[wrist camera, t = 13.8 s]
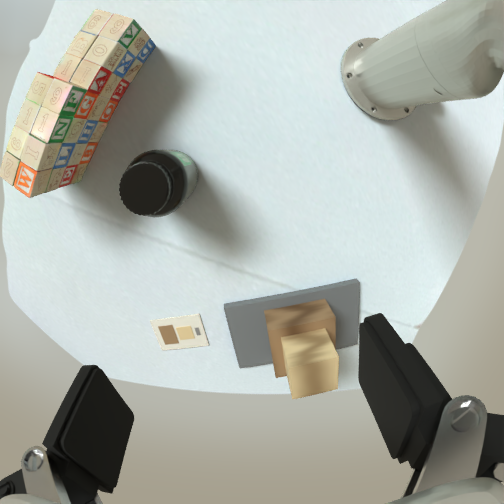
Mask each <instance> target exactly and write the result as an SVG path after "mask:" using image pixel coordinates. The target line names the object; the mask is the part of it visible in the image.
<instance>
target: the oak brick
mask: <svg viewBox="0 0 504 504" xmlns="http://www.w3.org/2000/svg"><path fill="white" fill-rule="evenodd" d="M281 341H282V348H283V355H284V362H285V369H286V373H287V378H288V382H289V386H290V391H291V395H292V399H297V398H302V397H306V396H310V395H315V394H319V393H323V392H328V391H331V390H335V389H338V368H339V356H338V354H337V352H336V350H335V348H334V345H333V343H332V341H331V339H330V337H329V335H328V333H327V331H326V329H325V328H323V329H319V330H315V331H310V332H305V333H301V334H296V335H291V336H286V337H281Z"/></svg>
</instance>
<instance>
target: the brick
mask: <svg viewBox="0 0 504 504" xmlns="http://www.w3.org/2000/svg"><path fill="white" fill-rule="evenodd" d="M264 313H265V319H266V325H267V331H268V336H269V342H270V348H271V354H272V360H273V365H274V370H275V376H276V378H278V377H283V376H287V373H286V369H285V362H284V355H283V348H282V341H281V337H286V336H291V335H296V334H301V333H305V332H310V331H315V330H319V329H323V328H325V329H326V331H327V333H328V335H329V337H330V339H331V341H332V343H333V345H334V348H335V350H336V318H335V315H334V313H333V312H332V310H331V308H330V307H329V305H328V303H327V301H326V300H325V299H321V300H316V301H311V302H306V303H301V304H296V305H291V306H286V307H280V308H275V309H270V310H264Z"/></svg>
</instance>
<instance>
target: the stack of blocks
mask: <svg viewBox="0 0 504 504" xmlns="http://www.w3.org/2000/svg"><path fill="white" fill-rule="evenodd" d="M155 46H156V45H155V44H154V43H153V41H152V40H151V38H150V37H149V36H148V34H147V33H146V32H145V31H144V30H143V29H142V28H141V27H140V26H139V24H138V23H137V22H136V21H135V20H134V19H131V18H128V17H125V16H121V15H118V14H113V13H110V12H106V11H102V10H98V9H95V10H94V11H93V13H92V14H91V16H90V17H89V18H88V20H87V21H86V22H85V24H84V25H83V27H82V29H81V30H80V31H79V32H78V34H77V35H76V37H75V38H74V40H73V41H72V43H71V44H70V46H69V48H68V49H67V51H66V53H65V54H64V56H63V57H62V59H61V61H60V63H59V64H58V66H57V68H56V70H55V72H54V75H53V76H50V75H46V74H43V73H39V72H37V74H36V76H35V78H34V80H33V82H32V84H31V86H30V88H29V91H28V93H27V95H26V99H25V101H24V103H23V105H22V107H21V110H20V112H19V115H18V117H17V120H16V124H15V125H14V128H13V131H12V133H11V136H10V139H9V142H8V146H7V149H6V150H7V151H6V152H5V154H4V157H3V161H2V164H1V168H0V177H2V178H3V179H4V180H5V181H7V182H8V183H9V184H10V185H12V186H13V185H14V187H15V188H16V189H17V190H19V191H20V192H22V193H23V194H24V195H26V196H27V197H29V198H31V197H34V196H37V195H39V194H42V193H47V192H49V191H52V190H55V189H58V188H60V187H63V186H66V185H69V184H74V183H77V182H80V181H81V179H82V177H83V174H84V172H85V170H86V167H87V165H88V163H89V162H90V159H91V157H92V155H93V153H94V151H95V149H96V147H97V145H98V142H99V140H100V138H101V137H102V135H103V133H104V131H105V129H106V127H107V125H108V121H109V120H110V117H111V116H112V114H113V112H114V110H115V108H116V107H117V105H118V102H119V101H120V99H121V97H122V96H123V94H124V92H125V90H126V89H127V87H128V86H129V84H130V83H131V82H132V80H133V79H134V77H135V76H136V74H137V73H138V71H139V70H140V68H141V67H142V65H143V63H144V62H145V61H146V59H147V58H148V56H149V55H150V53H151V52H152V51H153V49H154V48H155Z"/></svg>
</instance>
